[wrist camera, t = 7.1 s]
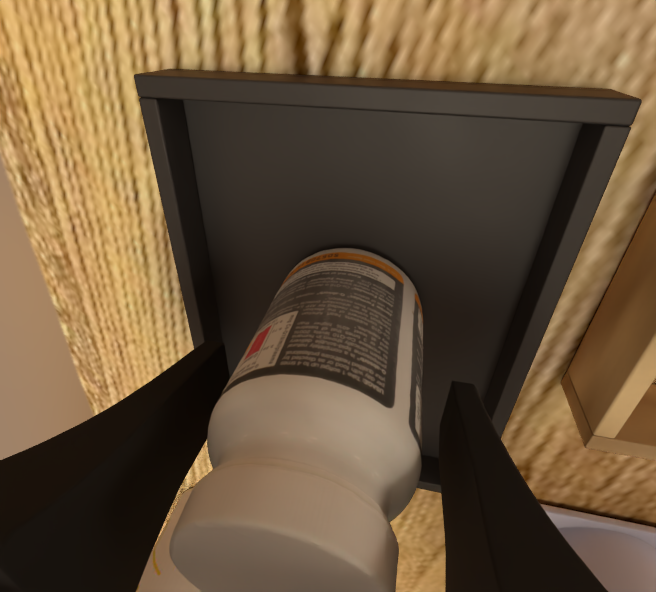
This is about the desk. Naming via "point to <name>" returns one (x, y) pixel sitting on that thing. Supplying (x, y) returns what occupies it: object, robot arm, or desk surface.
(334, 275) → the pill bottle
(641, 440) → the wooden frame
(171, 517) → the off-white cylinder
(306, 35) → the desk surface
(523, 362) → the tray
